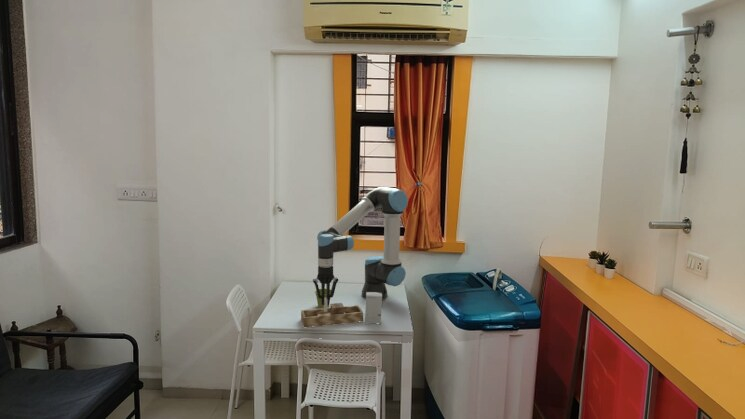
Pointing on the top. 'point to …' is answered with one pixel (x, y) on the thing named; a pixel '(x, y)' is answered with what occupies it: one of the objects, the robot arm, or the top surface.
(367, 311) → the skincare box
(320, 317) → the wooden cubby shelf
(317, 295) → the plant pot
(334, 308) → the walnut block
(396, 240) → the robot arm
